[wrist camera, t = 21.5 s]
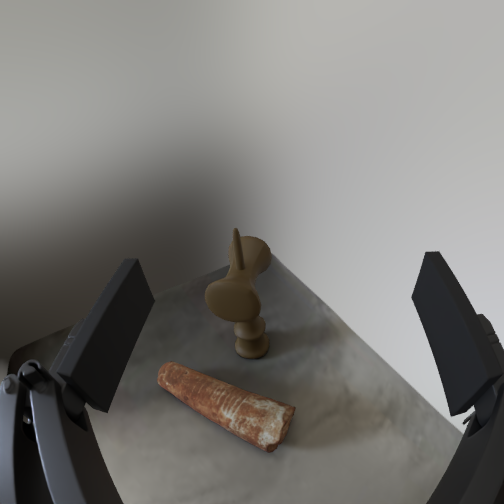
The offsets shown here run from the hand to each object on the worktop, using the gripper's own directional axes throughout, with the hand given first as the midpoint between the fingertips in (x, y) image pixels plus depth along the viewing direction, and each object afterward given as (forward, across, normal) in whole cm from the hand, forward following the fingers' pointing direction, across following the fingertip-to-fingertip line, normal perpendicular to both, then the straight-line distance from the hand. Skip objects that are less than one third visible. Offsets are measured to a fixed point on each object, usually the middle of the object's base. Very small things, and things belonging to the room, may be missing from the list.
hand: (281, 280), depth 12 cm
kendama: (+15, -5, -26) cm, 31 cm away
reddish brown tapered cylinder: (+4, -8, -26) cm, 28 cm away
